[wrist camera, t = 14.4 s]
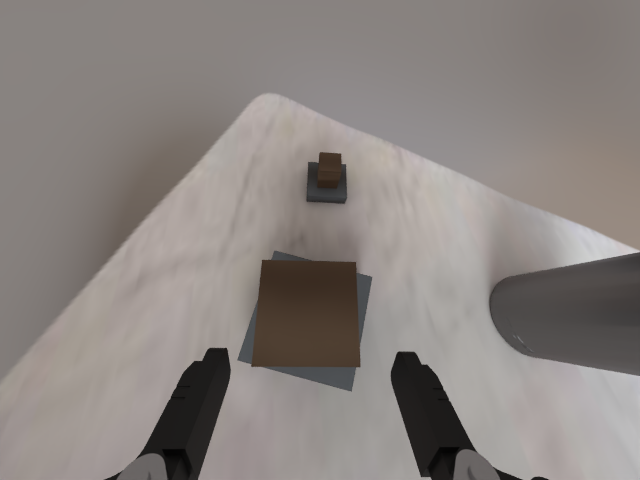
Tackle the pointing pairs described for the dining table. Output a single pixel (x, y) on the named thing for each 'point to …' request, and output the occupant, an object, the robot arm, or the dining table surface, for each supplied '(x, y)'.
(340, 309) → the walnut block
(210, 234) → the dining table surface
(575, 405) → the dining table surface
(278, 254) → the slate base block
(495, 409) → the dining table surface
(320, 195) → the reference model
